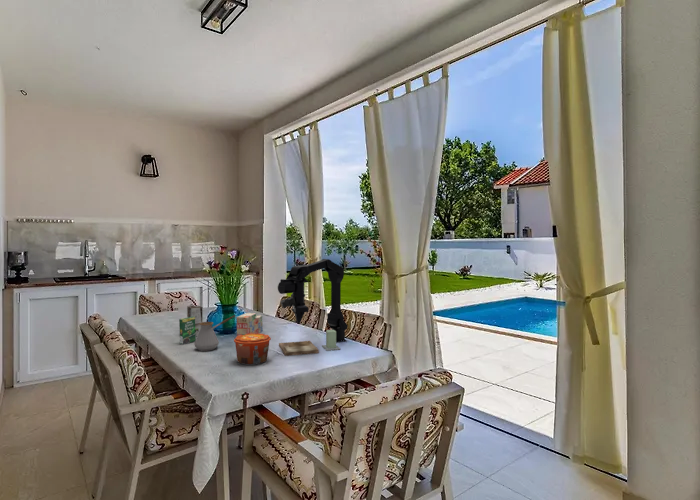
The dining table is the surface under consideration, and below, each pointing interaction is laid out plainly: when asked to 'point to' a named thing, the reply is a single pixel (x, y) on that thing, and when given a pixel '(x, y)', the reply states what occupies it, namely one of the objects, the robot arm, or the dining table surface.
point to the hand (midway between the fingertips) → (298, 324)
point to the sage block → (331, 338)
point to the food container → (252, 348)
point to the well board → (296, 352)
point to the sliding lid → (300, 346)
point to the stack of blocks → (249, 324)
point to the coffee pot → (208, 336)
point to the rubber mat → (330, 348)
